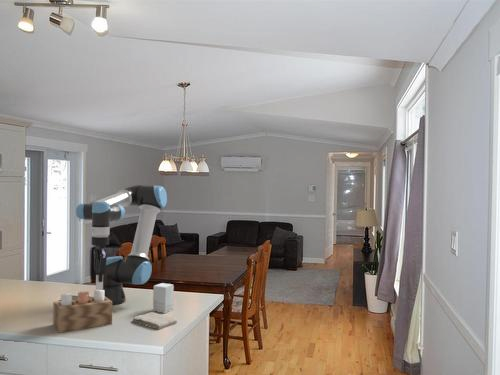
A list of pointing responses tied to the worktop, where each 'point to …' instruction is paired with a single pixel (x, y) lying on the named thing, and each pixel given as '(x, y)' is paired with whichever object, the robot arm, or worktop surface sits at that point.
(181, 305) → the worktop surface
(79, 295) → the terracotta plug
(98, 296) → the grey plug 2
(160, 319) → the washcloth
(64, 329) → the walnut socket block
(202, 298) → the worktop surface
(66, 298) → the grey plug
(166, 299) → the supplement box
